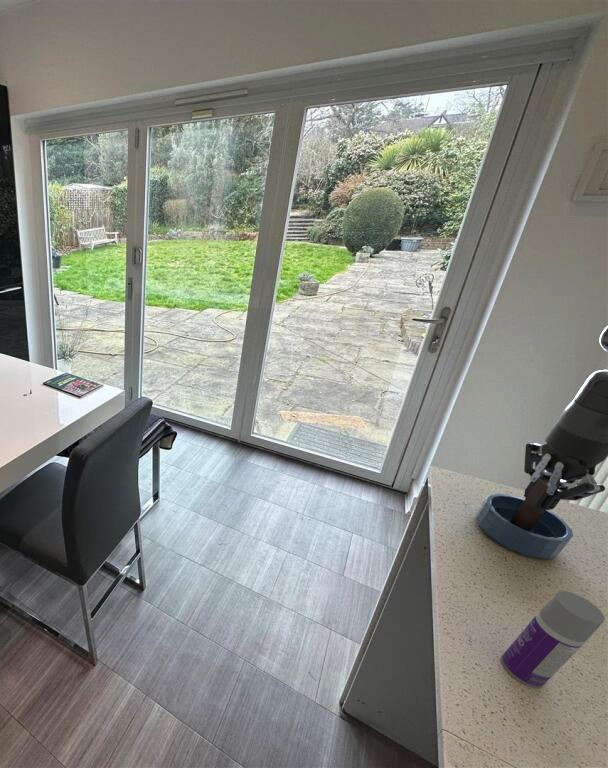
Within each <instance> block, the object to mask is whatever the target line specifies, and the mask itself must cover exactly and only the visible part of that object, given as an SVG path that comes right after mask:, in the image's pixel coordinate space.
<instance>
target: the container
mask: <svg viewBox="0 0 608 768" xmlns="http://www.w3.org/2000/svg"><path fill="white" fill-rule="evenodd" d="M605 620H606V619H605V616H604V614H603V611H601V610H600V609H599V608H598V606H596V605H595V604H593V603H592V602H591V601H590V600H588V599H586V598H585V597H582V596H580V595H578V594H576V593H573V592H570V591H566V590H565V591H564V590H560V591H559V590H558V591H557V592H556V593H555V594H554V595H553V596H552V597H551V598H550V599H549V601H548V602H547V603H546V604H545V605H544V606H543V607H542V608H541V609H540V610H539V612H538V613H536V615H534V617H533V618H532V619H531V621H530V622H529V623H528V624H527V625H526V627H525V628H524V629H523V630H522V631H521V632H520V634H519V635H518V636H517V637H516V638H515V639H514V640H513V642H512V643H511V644H510V646H509V647H508V648H507V649H506V650H505V652H504V653H503V654H502V655H501V657H500V662H501V665H502V666H503V669H505V670H506V673H508V674H509V676H511V677H512V678H513V679H514V680H516V681H518V682H519V683H521V684H522V685H524V686H527V687H529V688H533V689H540V688H542V687H543V686H544V685H545V684H546V683H547V682H548V681H549V680H550V679H551V678H552V677H554V675H555V674H556V673H557V672H558V671H559V670H560V669H561V668H562V667H563V666H564V665H565V664H566V663H567V662H568V661H569V660H570V659H571V658H572V657H574V655H576V653H577V652H578V651H579V650H580V649H581V648H582V647H583V646H584V644H585V643H587V642H588V640H589V639H590V638H591V637H592V635H593V634H595V632H596V631H597V630H598V629H599V628H600V626H602V624H603V623H604V622H605Z"/></svg>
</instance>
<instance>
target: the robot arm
mask: <svg viewBox="0 0 608 768" xmlns="http://www.w3.org/2000/svg"><path fill="white" fill-rule="evenodd" d="M599 344H600V347H602V349H603V350H604V351H606V352H608V325H607V326H606V327H605V328H604V329H603V331H602V332H601V334H600V336H599ZM607 458H608V369H603V370H597V371H594V372H593V373H591V374H590V375H589V376H588V378H587V379H586V380H585V382H584V384H583V385H582V386H581V387H580V389H579V391H578V392H577V393H576V395H575V397H574V398H573V400H572V401H571V402H570V403H569V404H568V405H567V406H566V407H565V408H564V410H563V411H562V413H561V414H560V416H559V418H558V419H557V421H556V422H555V424H554V425H553V427H552V428H551V430H550V431H549V433H548V435H547V436H546V438H545V443H543V444H541V443H540V444H539V443H526V444H525V451H524V469H523V472H524V473H525V474H528V475H529V476H530V477H529V479H530V482H529V483H528V485H527V487H526V488H525V489H524V492H523V497H524V499H525V498H526V497H527V496H528V494H529V493H530V491H531V490H532V488H533V487H534V485H535V484H536V482H537V481H538V479H542V480H549V482H551V483H550V485H549V487H548V489H547V492H545V493H544V495H543V496H542V497H541V499H540V500H539V502H538V503H537V504H536V507H537V508H538V509H541V510H550V511H551V510H554V509H555V508H556V507H557V505H558V504H559V503H560V501H561V500H564V501H574V502H576V501H579V500H583V499H586V498H588V497H590V496H594V495H596V494H599V493H603V492H604V491H605V490H606V487H605V485H603V484H601V483H598V482H597V480H596V479H595V478H594V475H595V473H596V468H597V466H598V465H599V464H600V463H603V462H604V461H605V460H606V459H607ZM534 463H535V464H534ZM559 487H560V488H559Z"/></svg>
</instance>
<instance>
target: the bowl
mask: <svg viewBox="0 0 608 768" xmlns="http://www.w3.org/2000/svg"><path fill="white" fill-rule="evenodd" d="M524 500H525V497H524V498H523V497H520V496H516V495H513V494H509V493H500V492H498V493H493V494H492V493H491V494H489V495H487V497H485V499H484V500H483V502H482V504H481V506H480V507H479V508H478V510H477V512H476V514H475V521H476V522H477V524H478V526H479V528H481V530H482V531H483V532H484V533H485V534H486V535H487V536H488V537H490V538H491V539H492V540H493V541H495V542H496V543H497V544H499V545H501V546H503V547H504V548H507V549H508V550H510V551H513V552H515V553H517V554H520V555H523V556H527V557H531V558H536V559H548V560H549V559H553V558H557V557H558V555H559V554H560V553H562V551H563V550H564V548H565V547H566V546H567V544H569V542H570V541H571V540H572V538H573V537H574V533H573V529H572V528H571V526H570V525H569V524H568V523H567V522H566V521H565V520H564V519H563V518H561V517H560V516H559V515H558V514H556V513H555V512H553V511H551V510H545V511H544V512H543V514H542V515H541V516H540V518H539V519H538V521H537V522H536V523H535V525H534V526H533V528H532V529H531V530H530V532H528V531H526V530H523V529H521V528H520V527H518V526H516V525H514V524H512V523H510V521H511V519H512V518H513V516H514V515H515V513H516V512H517V510H518V509H519V507H520V506H521V504H522V503H523V501H524Z"/></svg>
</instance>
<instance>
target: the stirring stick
mask: <svg viewBox="0 0 608 768" xmlns="http://www.w3.org/2000/svg"><path fill="white" fill-rule="evenodd" d="M550 483H551V482H549V480H542V479H538V481H537V482H536V484H535V485H534V487H533V488H532V490H531V491H530V493H529V494H528V496H527V497H526V498H525V497H524V499H525V500H524V501H523V503H522V504H521V506H520V507H519V509H518V510H517V512H516V513H515V515H514V516H513V518H512V519H511V521H510V523H512V524H514V525H516V526H518V527H520V528H521V529H523V530H526V531H528V532H530V530H531V529H532V528H533V526H534V525H535V523H536V522H537V521H538V519H539V518H540V516H541V515H542V514H543V512H544V511H545V510H541V509H538V508H537V507H536V504H537V503H538V502H539V500H540V499H541V497H542V496H543V495H544V493H545V492H547V489H548V487H549V485H550ZM560 487H561V486H560ZM560 487H559V488H560Z"/></svg>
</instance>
